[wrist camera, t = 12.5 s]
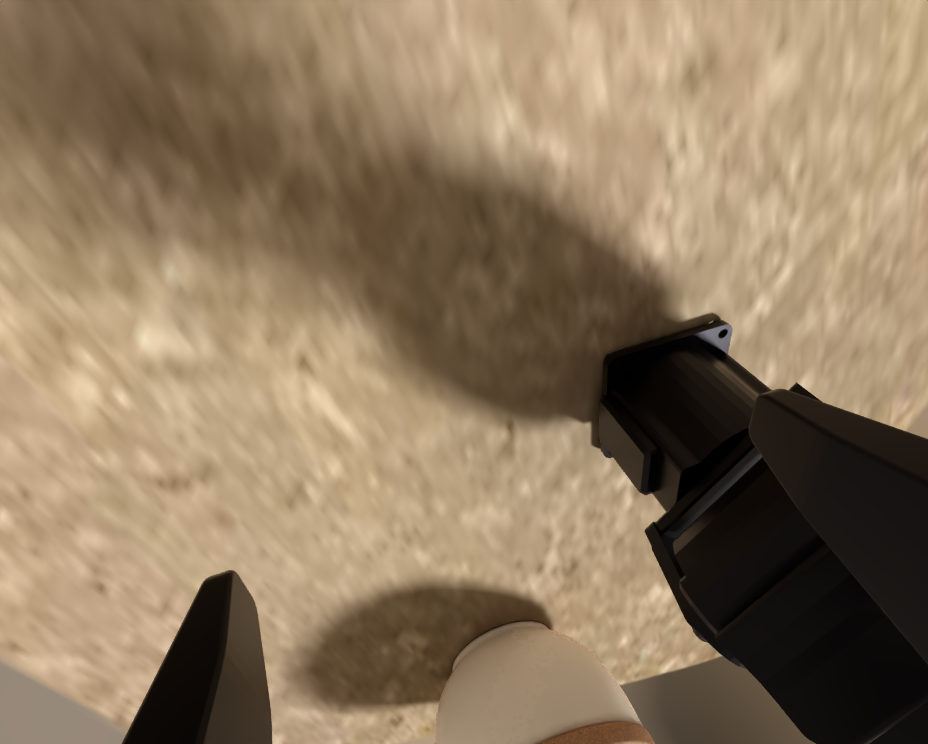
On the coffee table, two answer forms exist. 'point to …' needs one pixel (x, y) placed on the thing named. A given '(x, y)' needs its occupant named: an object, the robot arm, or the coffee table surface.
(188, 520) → the coffee table surface
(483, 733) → the lidded bowl
